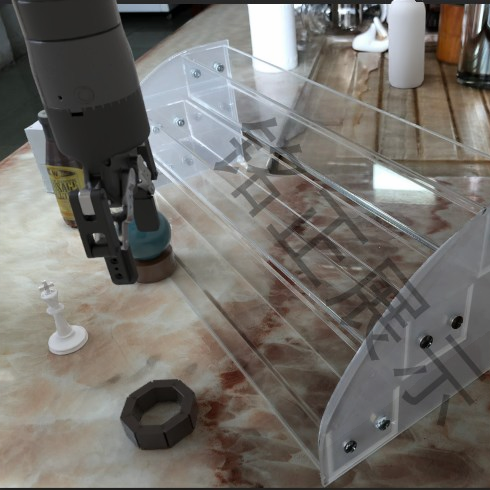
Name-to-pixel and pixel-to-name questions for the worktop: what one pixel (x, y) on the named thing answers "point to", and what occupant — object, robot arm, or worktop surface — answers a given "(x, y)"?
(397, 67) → the white plastic bottle
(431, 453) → the worktop surface
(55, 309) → the chess piece
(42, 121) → the sauce bottle
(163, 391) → the walnut ring
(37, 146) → the small box
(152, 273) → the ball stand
